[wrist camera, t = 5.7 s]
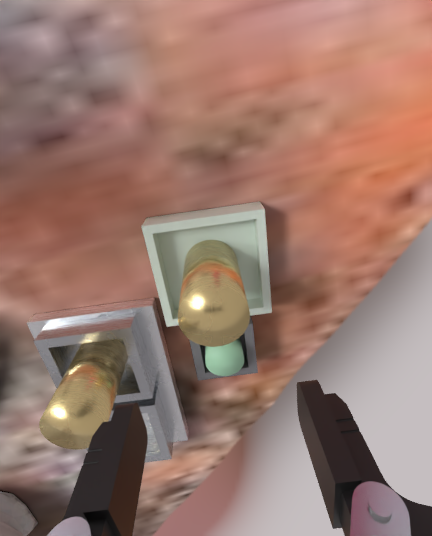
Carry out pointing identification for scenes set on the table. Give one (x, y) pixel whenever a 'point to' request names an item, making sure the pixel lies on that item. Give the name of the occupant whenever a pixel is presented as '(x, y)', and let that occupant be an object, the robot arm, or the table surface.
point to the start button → (225, 358)
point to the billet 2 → (212, 295)
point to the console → (248, 353)
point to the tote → (209, 228)
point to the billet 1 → (85, 394)
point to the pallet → (137, 367)
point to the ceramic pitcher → (14, 516)
